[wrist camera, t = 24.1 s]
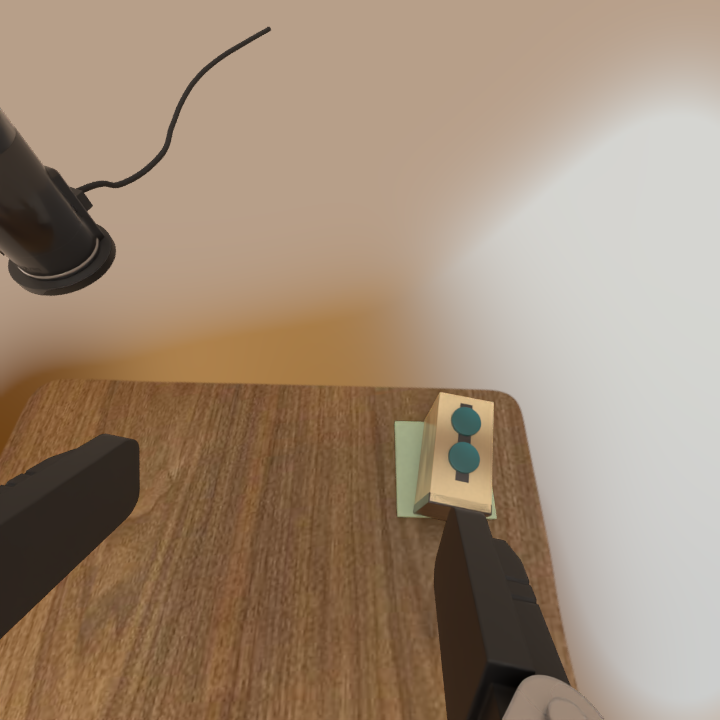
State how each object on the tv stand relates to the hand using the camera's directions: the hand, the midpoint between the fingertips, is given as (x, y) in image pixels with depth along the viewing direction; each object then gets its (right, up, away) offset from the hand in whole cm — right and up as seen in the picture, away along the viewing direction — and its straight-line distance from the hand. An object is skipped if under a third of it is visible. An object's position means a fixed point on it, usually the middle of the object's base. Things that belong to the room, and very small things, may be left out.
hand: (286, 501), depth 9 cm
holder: (+10, -7, +26) cm, 29 cm away
